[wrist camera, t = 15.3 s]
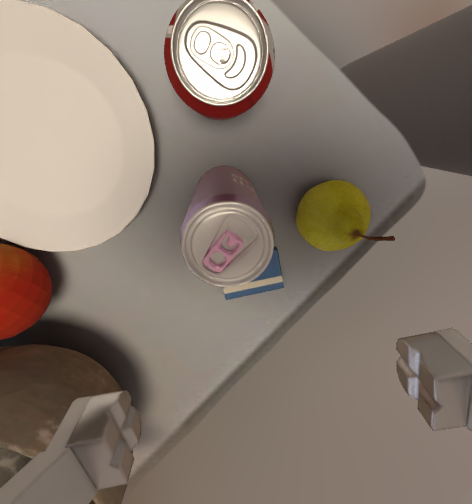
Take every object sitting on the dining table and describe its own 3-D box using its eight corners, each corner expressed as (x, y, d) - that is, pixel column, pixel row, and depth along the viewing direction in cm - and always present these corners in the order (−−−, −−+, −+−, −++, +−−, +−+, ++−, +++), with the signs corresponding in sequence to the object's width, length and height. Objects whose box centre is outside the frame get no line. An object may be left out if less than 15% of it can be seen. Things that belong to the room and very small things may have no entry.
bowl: (-46, 427, 43) (-174, 572, 29) (-33, 284, 34) (-203, 392, 20) (125, 461, 47) (85, 600, 33) (172, 342, 39) (147, 463, 25)
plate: (-117, 10, 25) (-148, -1, 23) (143, 7, 25) (136, -4, 23) (-26, 247, 33) (-42, 256, 31) (170, 239, 33) (167, 247, 31)
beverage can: (185, 200, 32) (158, 257, 18) (218, 153, 30) (216, 176, 17) (230, 232, 34) (237, 306, 20) (263, 188, 32) (297, 237, 18)
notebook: (275, 246, 35) (277, 250, 34) (282, 283, 37) (284, 288, 36) (216, 259, 35) (216, 263, 34) (225, 295, 37) (226, 300, 36)
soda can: (235, 133, 30) (245, 138, 19) (171, 98, 28) (140, 80, 17) (269, 62, 28) (302, 20, 16) (201, 20, 26) (188, -58, 15)
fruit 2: (294, 242, 35) (329, 297, 23) (284, 183, 32) (318, 214, 21) (354, 228, 34) (418, 277, 23) (348, 167, 32) (418, 190, 21)
